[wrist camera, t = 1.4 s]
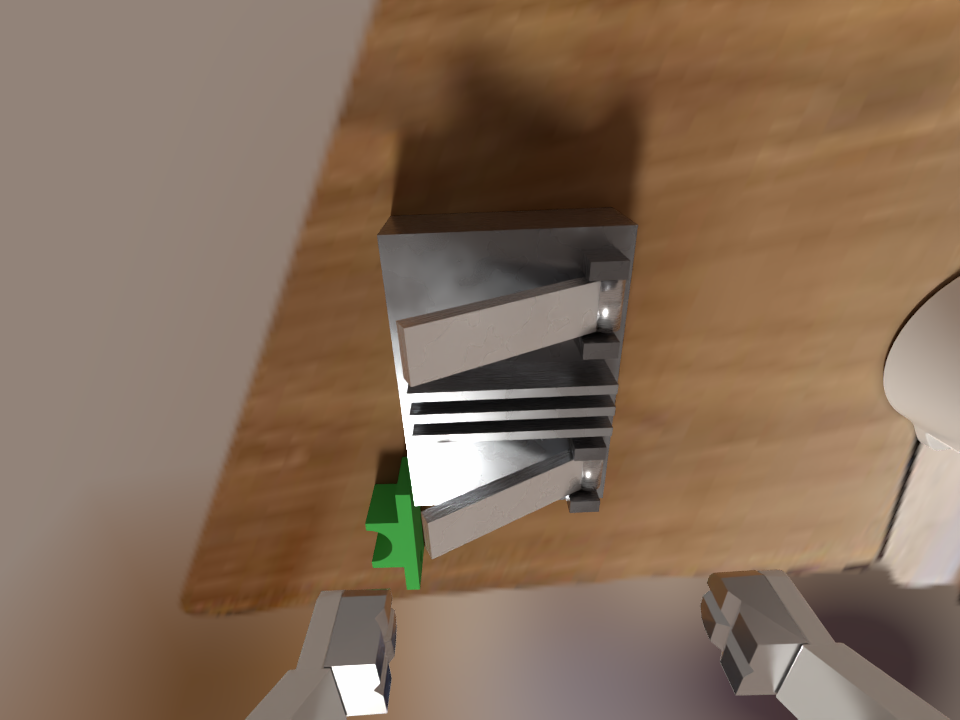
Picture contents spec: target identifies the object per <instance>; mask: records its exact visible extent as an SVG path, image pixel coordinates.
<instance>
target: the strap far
mask: <svg viewBox="0 0 960 720" xmlns="http://www.w3.org/2000/svg"><path fill="white" fill-rule="evenodd" d="M602 468H603V460H590V461H574V459H573V456H572V453H571V449H568V450H566V451H564V452H561V453H559V454H556V455H554V456H552V457H549V458H547V459H545V460H542V461H540V462H537V463H535V464H533V465H530V466H528V467H526V468H523V469H521V470H519V471H516V472H514V473H511V474H509V475H507V476H504V477H502V478H500V479H497V480H495V481H492V482H490V483H488V484H485V485H483V486H481V487H478V488H476V489H474V490H471V491H469V492H466V493H464V494H462V495H459V496H457V497H455V498H452V499H450V500H447V501H445V502H443V503H440V504H438V505H436V506H433V507H431V508H429V509H426V510H424V511H421V516H422V523H423V531H424V538H425V546H426V549H427V551H428V552H429V554H430V556H431V558H432V559H434V558H436V557H438V556H440V555H442V554H445V553H447V552H449V551H451V550H453V549H455V548H457V547H459V546H462V545H464V544H466V543H468V542H470V541H472V540H474V539H476V538H478V537H481V536H483V535H485V534H487V533H489V532H491V531H493V530H495V529H497V528H500V527H502V526H504V525H506V524H508V523H510V522H512V521H514V520H516V519H519V518H521V517H523V516H525V515H527V514H529V513H531V512H533V511H536V510H538V509H540V508H542V507H544V506H546V505H548V504H550V503H552V502H555V501H557V500H559V499H561V498H563V497H565V496H567V495H569V494H571V493H574V492H576V491H578V490H580V489H581V490H584V491H595V490H597V489H598V488H599V487H600V484H601V476H602Z"/></svg>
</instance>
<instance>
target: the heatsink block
mask: <svg viewBox="0 0 960 720" xmlns="http://www.w3.org/2000/svg"><path fill="white" fill-rule="evenodd" d="M637 228H638V225H637V224H636V223H634V222H633V221H631V220H630V219H628V218H627V217H626V216H624V215H623V214H621V213H620V212H618V211H617V210H615V209H614V208H612V207H607V208H581V209H556V210H530V211H504V212H479V213H453V214H427V215H401V216H390V217H389V219H388V220H387V222H386V223H385V225H384V226H383V228H382V229H381V230H380V232H379V233H378V235H377V238H378V245H379V252H380V260H381V267H382V274H383V281H384V288H385V296H386V303H387V310H388V317H389V324H390V332H391V339H392V346H393V353H394V360H395V367H396V375H397V382H398V389H399V396H400V403H401V411H402V418H403V425H404V432H405V439H406V447H407V454H408V461H409V468H410V475H411V483H412V490H413V497H414V504H415V506H424V505H438V504H440V503H443V502H445V501H447V500H450V499H452V498H455V497H457V496H459V495H462V494H464V493H466V492H469V491H471V490H474V489H476V488H478V487H481V486H483V485H485V484H488V483H490V482H492V481H495V480H497V479H500V478H502V477H504V476H507V475H509V474H511V473H514V472H516V471H519V470H521V469H523V468H526V467H528V466H530V465H533V464H535V463H537V462H540V461H542V460H545V459H547V458H549V457H552V456H554V455H556V454H559V453H561V452H564V451H566V450H568V449H571V453H572V456H573V459H574V461H590V460H603V468H602V476H601V484H600V487H599V488H598V489H597V490H595V491H584V490H581V489H580V490H578V491H576V492H574V493H571V494H569V495H567V496H565V497H563V498H561V499H559V500H563V499H566V500H567V504H568V508H569V512H570V513H576V512H599V505H600V499H599V498H603V490H604V483H605V475H606V467H607V460H608V452H609V444H610V436H612V430H613V427H612V421H613V415H615V408H616V407H615V398H616V394H617V392H618V383H617V382H618V375H619V367H620V359H621V352H622V344H623V336H624V329H625V321H626V313H627V305H628V298H629V290H630V282H631V275H632V267H633V259H634V252H635V244H636V236H637ZM585 276H586V277H587V279H588V280H589V281H609V280H626V283H625V291H624V299H623V307H622V315H621V324H620V329H619V330H618V331H616V332H613V333H600V332H593V333H590V334H586V335H583V336H580V337H576V338H573V339H570V340H567V341H563V342H560V343H557V344H553V345H550V346H547V347H543V348H540V349H537V350H533V351H530V352H527V353H523V354H520V355H517V356H513V357H510V358H507V359H503V360H500V361H497V362H493V363H490V364H487V365H483V366H480V367H477V368H473V369H470V370H467V371H463V372H460V373H457V374H453V375H450V376H447V377H443V378H440V379H437V380H433V381H430V382H427V383H423V384H420V385H417V386H413V387H410V385H409V384H408V383H407V382H406V380H405V379H404V378H403V371H402V363H401V355H400V348H399V340H398V333H397V325H396V321H397V320H402V319H406V318H410V317H414V316H419V315H423V314H427V313H432V312H436V311H440V310H444V309H449V308H453V307H457V306H461V305H466V304H470V303H474V302H478V301H483V300H487V299H491V298H496V297H500V296H504V295H508V294H513V293H517V292H521V291H525V290H530V289H534V288H538V287H543V286H547V285H551V284H555V283H560V282H564V281H568V280H572V279H577V278H581V277H585Z"/></svg>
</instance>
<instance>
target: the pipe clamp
mask: <svg viewBox="0 0 960 720" xmlns="http://www.w3.org/2000/svg"><path fill="white" fill-rule="evenodd" d="M365 525H366V531H375V532H378V535H377V540H376V545H375V550H374V555H373V559H372V565H373V568H384V567H404V569H405V577H406V585H407V590H411V589H420V584H421V573H422V563H423V553H424V542H423V531H422V521H421V510H420V506H415V504H414V497H413V490H412V483H411V475H410V468H409V461H408V457H402V461H401V466H400V472H399V477H398V482H397V484H375V486H374V490H373V494H372V499H371V503H370V507H369V511H368V515H367V519H366V523H365Z"/></svg>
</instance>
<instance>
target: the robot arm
mask: <svg viewBox="0 0 960 720" xmlns="http://www.w3.org/2000/svg"><path fill="white" fill-rule="evenodd" d="M883 380H884V390H885V394H886V396H887V399H888V401H889V402H890V404H891V405H892V407H893V408H894V409H895V410H896V411H897V412H898V413H900V414H901V415H903V416H904V417H906V418H907V419H909V420H910V421H911V422H912V423H913V424H914V428H915V431H916V435H917V437H918V439H919V441H920V442H921V443H922V444H924V445H926V446H927V447H929V448H931V449H932V450H936V451H942V450H948V449H953V450H955V451H956V452H958V453H960V277H958V278H956V279H955V280H953V281H952V282H951V283H949V284H948V285H946V286H945V287H944V288H942V289H941V290H940V291H938V292H937V293H936V294H935V295H934V296H932V297H931V298H930V299H929V300H928V301H927V302H926V303H925V304H924V305H923V306H922V307H921V308H920V309H919V310H918V311H917V312H916V313H915V314H914V315H913V316H912V318H911V319H910V320H909V321H908V322H907V324H906V325H905V326H904V328H903V329H902V331H901V332H900V334H899V335H898V337H897V339H896V340H895V342H894V344H893V346H892V348H891V350H890V353H889V355H888V358H887V361H886V365H885V369H884V379H883ZM707 584H708V586H709V588H710V591H708V592H707V593H706V594H705V595H703V597H702V601H701V605H700V607H701V618H702V621H703V625H704V628H705V630H706V633H707V635H708V637H709V639H710V641H711V642H712V643H713V644H715V645H716V646H717V647H718V648H719V649H721V650H722V654H721V660H720V663H721V665H722V667H723V669H724V671H725V674H726V676H727V678H728V680H729V682H730V684H731V686H732V688H733V690H734V693H735V695H771V694H777V695H776V697H777V698H778V699H779V700H780V701H781V702H782V703H783V704H784V705H785V706H786V707H787V708H788V709H789V710H790V711H791V712H792V713H793V714H794V715H795V716H796V717H797V718H798V719H799V720H951V719H949V718H948V717H946V716H945V715H943V714H942V713H941V712H939V711H938V710H936V709H935V708H934V707H932V706H931V705H929V704H928V703H927V702H925V701H924V700H922V699H921V698H920V697H918V696H917V695H915V694H914V693H912V692H911V691H910V690H908V689H907V688H905V687H904V686H902V685H901V684H900V683H898V682H897V681H895V680H894V679H893V678H891V677H890V676H889V675H887V674H886V673H884V672H883V671H881V670H880V669H879V668H877V667H876V666H874V665H873V664H871V663H870V662H869V661H867V660H866V659H864V658H863V657H862V656H860V655H859V654H857V653H856V652H855V651H853V650H852V649H850V648H849V647H848V646H846V645H845V644H843V643H835V642H834V640H833V639H832V637H831V636H830V635H829V633H828V632H827V630H826V629H825V627H824V626H823V625H822V623H821V622H820V620H819V619H818V618H817V616H816V615H815V613H814V612H813V611H812V609H811V608H810V606H809V605H808V603H807V602H806V601H805V599H804V598H803V596H802V595H801V593H800V592H799V591H798V589H797V588H796V587H795V585H794V584H793V582H792V581H791V579H790V578H789V577H788V575H787V574H786V573H784V572H783V571H782V570H762V571H756V570H750V571H735V572H719V573H713V574H711V575H710V576H709V578H708V581H707ZM391 605H392V594H391V589H366V590H333V591H322V592H321V593H320V595H319V597H318V599H317V601H316V605H315V608H314V611H313V615H312V618H311V621H310V625H309V628H308V632H307V635H306V638H305V641H304V645H303V648H302V651H301V655H300V658H299V661H298V665H297V668H296V670H289V671H288V672H287V673H286V674H285V675H284V677H283V678H282V679H281V680H280V681H279V682H278V683H277V684H276V685H275V686H274V688H273V689H272V690H271V691H270V692H269V693H268V694H267V695H266V697H265V698H264V699H263V700H262V701H261V702H260V703H259V705H258V706H257V707H256V708H255V709H254V710H253V711H252V712H251V714H250V715H249V716H248V717H247V718H246V719H245V720H346V719H347V718H346V716H356V715H368V714H380V713H387V709H388V702H389V695H390V694H389V693H390V686H391V679H392V678H391V673H390V668H389V663H390V661H391V660H392V659H393V657H394V655H395V647H396V630H397V625H396V614H395V610H394V609H392V608H391Z"/></svg>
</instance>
